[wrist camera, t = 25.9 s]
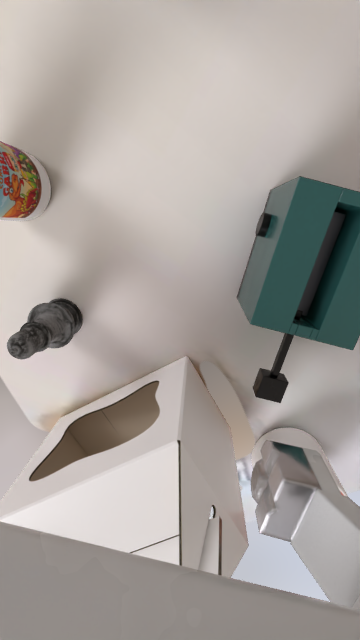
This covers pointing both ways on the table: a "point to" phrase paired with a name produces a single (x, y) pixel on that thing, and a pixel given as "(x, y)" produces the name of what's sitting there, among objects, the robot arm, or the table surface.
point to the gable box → (140, 475)
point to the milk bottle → (22, 185)
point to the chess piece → (46, 328)
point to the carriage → (297, 318)
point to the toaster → (305, 264)
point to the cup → (294, 439)
